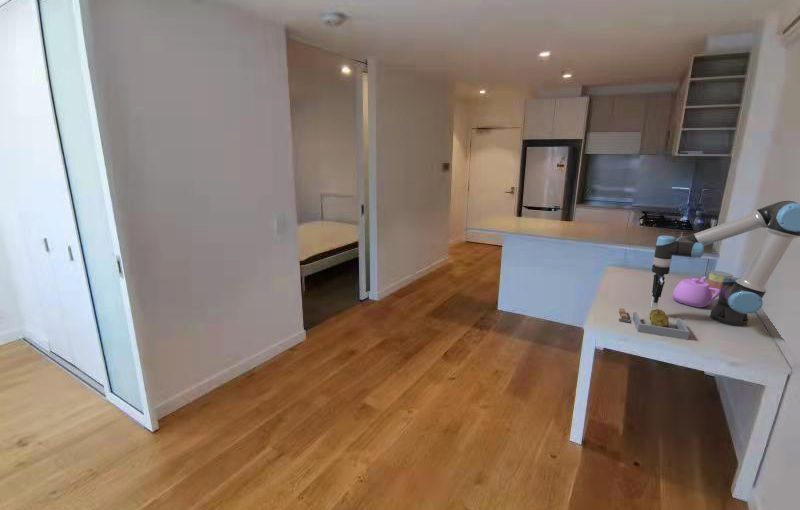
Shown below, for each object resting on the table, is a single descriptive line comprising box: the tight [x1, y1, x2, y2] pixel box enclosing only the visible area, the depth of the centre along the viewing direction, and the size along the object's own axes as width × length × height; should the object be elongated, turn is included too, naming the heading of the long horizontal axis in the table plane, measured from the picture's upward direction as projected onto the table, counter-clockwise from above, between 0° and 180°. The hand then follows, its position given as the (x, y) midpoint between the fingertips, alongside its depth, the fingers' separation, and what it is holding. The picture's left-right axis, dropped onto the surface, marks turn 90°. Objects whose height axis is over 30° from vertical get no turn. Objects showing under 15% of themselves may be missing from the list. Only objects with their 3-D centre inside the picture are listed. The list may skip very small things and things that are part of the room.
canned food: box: [706, 270, 734, 294], centre depth 237 cm, size 11×11×12 cm
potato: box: [648, 308, 670, 328], centre depth 188 cm, size 8×13×8 cm, turn 147°
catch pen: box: [632, 311, 691, 341], centre depth 186 cm, size 20×16×4 cm
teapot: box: [672, 275, 720, 308], centre depth 218 cm, size 23×21×15 cm
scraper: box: [618, 307, 631, 324], centre depth 199 cm, size 14×5×2 cm, turn 157°
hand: (653, 307), depth 201 cm, fingers closed
